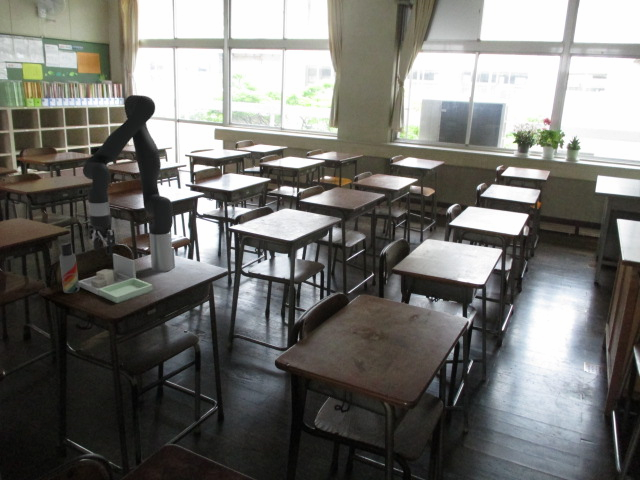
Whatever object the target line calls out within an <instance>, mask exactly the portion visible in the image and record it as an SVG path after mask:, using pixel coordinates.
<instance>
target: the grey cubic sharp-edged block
mask: <svg viewBox="0 0 640 480" xmlns="http://www.w3.org/2000/svg"><path fill="white" fill-rule="evenodd" d="M109 270H111V271H113V276H114V281H118V276H117V271H115V270H114V269H112V268H111V269H109Z"/></svg>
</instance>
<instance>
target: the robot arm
mask: <svg viewBox="0 0 640 480" xmlns="http://www.w3.org/2000/svg"><path fill="white" fill-rule="evenodd" d="M124 112H125V115H126V120H125V121H124V122H123V123H122V124H121V125H120V126H119V127H117V128H116V129H115V130H114V131H113V132H111V133H110V134H109V135H108V137H107V138H106V139H105V141H104V142H103V143H102V145H101V146H100V148H99V149H98V150H97V151H96V152H95V153H93V154H92V155H91V156H90V157H89V158H88V160H86V161H85V163H84V164H83V167H82V173H83V176H84V177H85V178H87V179H88V180H92V181H91V183H92V185H91V186H90V187H89V188H88V190H87V194H88V195H87V196H88V215H89V225H88V236H89V237H88V238H89V240H91V241H92V243H93V250H94V251H100V250H101V245H100V240H101V241H102V242H103V243H104V244H105V253H106V256H107V255H108V256H110V255H113V245H116V237H115V236H116V235H115V230H114V229H110V228H109V226H110V225H111V224H112V220H111V209H110V202H109V193H108V191H109V190H108V189H109V184H110V177H111V173H110V169H109V166H108V164H110V163H114V162H115V161H116V160H117V159H118V157H119V156H120V155H121V153H122V152H123V151H124V149H125V147H126V146H127V145H128V144H129V142H130V141H131V140H132V141H133V146H134V147H133V148H134V153H135V159H136V162H137V167H138V171H139V172H138V173H139V178H140V184H141V190H142V191H141V192H142V202H143V203H142V204H143V209H144V211H145V213H146V214H148V215H150V216H152V217H153V224H150V225H149V226H148V232H149V234H148V235H149V250H150V261H151V262H150V263H151V269H152V271H153V272H159V273H160V272H161V273H165V272H170V271H172V270H173V269H174V268H176V263H175V262H176V260H175V259H176V258H175V247H174V246H173V243H172V241H173V239H172V227H173V218H174V217H173V216H174V215H173V213H174V209H173V203H172V201H171V200H170V199H169V198H168V197H165V196H162V195H160V191H159V187H158V186H159V185H158V178H159V174H160V173H161V166H162V165H161V163H162V162H161V157H160V152H159V149H158V146H157V144H156V143H155V141H154V139H153V138H152V136H151V133H150V131H149V129H148V127H147V126H148V125H147V122H148V121H149V120H150V119H151V118H152V117H153V115H154V114H155V112H156V104H155V101H154V100H153V99H152V98H151V97H150V96H146V95H138V94H132V95H129V96H127V98H126V99H125V100H124Z"/></svg>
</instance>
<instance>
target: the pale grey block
mask: <svg viewBox="0 0 640 480" xmlns="http://www.w3.org/2000/svg"><path fill="white" fill-rule="evenodd" d="M91 284H92V286H94V287H96V288H98V289H99V288H102V287H105V286H107V280H105V279H102V278H98V279H95V280H92V281H91Z"/></svg>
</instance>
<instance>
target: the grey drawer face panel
mask: <svg viewBox="0 0 640 480" xmlns="http://www.w3.org/2000/svg"><path fill="white" fill-rule="evenodd" d="M112 262H113V263H112V265H113V270H115V271H117V272H118V273H121V274H123V275H126V276H128V277H131V278H136V279H137V275H136V274H137V273H136V265H135V264H136V263H135V260H134V259H131V258H128V257H125V256H122V255H120V254H117V253H112Z"/></svg>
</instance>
